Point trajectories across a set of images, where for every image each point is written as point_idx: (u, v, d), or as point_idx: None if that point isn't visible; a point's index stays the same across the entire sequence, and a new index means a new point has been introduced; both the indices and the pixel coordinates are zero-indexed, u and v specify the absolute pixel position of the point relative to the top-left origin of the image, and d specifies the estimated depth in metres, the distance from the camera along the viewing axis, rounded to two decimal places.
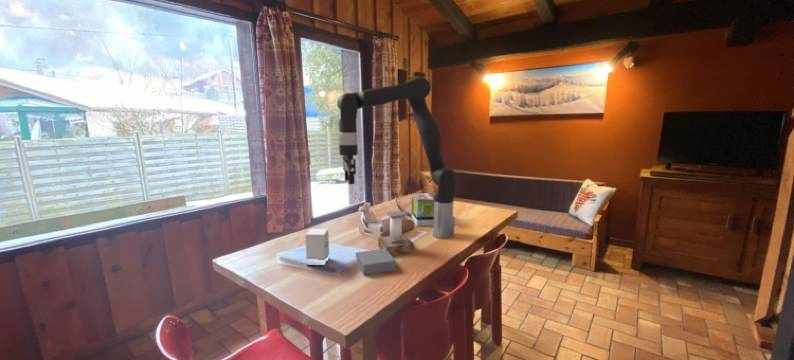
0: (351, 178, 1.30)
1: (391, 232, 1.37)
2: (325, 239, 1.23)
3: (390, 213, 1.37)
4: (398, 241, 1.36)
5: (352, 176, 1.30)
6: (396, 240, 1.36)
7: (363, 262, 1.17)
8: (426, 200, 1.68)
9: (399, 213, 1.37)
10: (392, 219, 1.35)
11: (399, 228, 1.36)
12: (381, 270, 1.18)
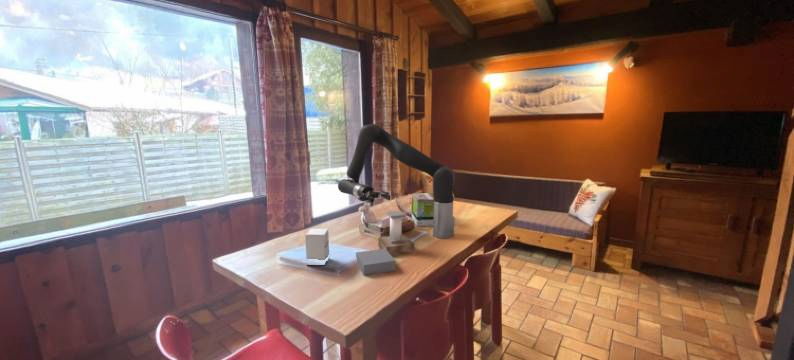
0: (368, 199, 1.44)
1: (391, 232, 1.37)
2: (325, 239, 1.23)
3: (390, 213, 1.37)
4: (398, 241, 1.36)
5: (367, 198, 1.45)
6: (396, 240, 1.36)
7: (363, 262, 1.17)
8: (426, 200, 1.68)
9: (399, 213, 1.37)
10: (392, 219, 1.35)
11: (399, 228, 1.36)
12: (381, 270, 1.18)
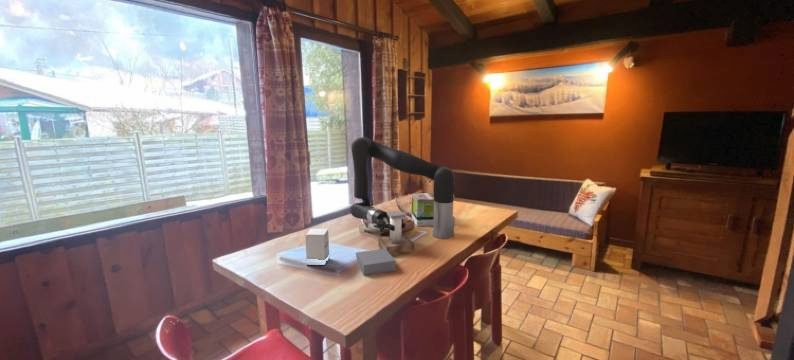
0: (388, 227, 1.36)
1: (391, 232, 1.37)
2: (325, 239, 1.23)
3: (390, 213, 1.37)
4: (398, 241, 1.36)
5: (387, 226, 1.36)
6: (396, 240, 1.36)
7: (363, 262, 1.17)
8: (426, 200, 1.68)
9: (399, 213, 1.37)
10: (392, 219, 1.35)
11: (399, 228, 1.36)
12: (381, 270, 1.18)
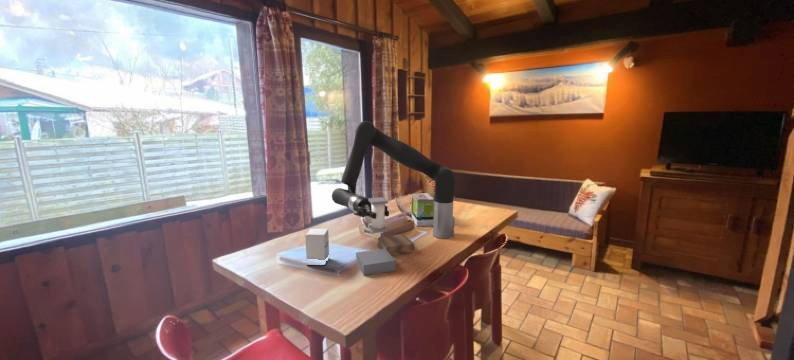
0: (369, 215, 1.21)
1: (373, 220, 1.22)
2: (325, 239, 1.23)
3: (372, 199, 1.22)
4: (380, 230, 1.22)
5: (368, 213, 1.22)
6: (378, 229, 1.22)
7: (363, 262, 1.17)
8: (426, 200, 1.68)
9: (382, 199, 1.22)
10: (374, 206, 1.21)
11: (381, 216, 1.22)
12: (381, 270, 1.18)
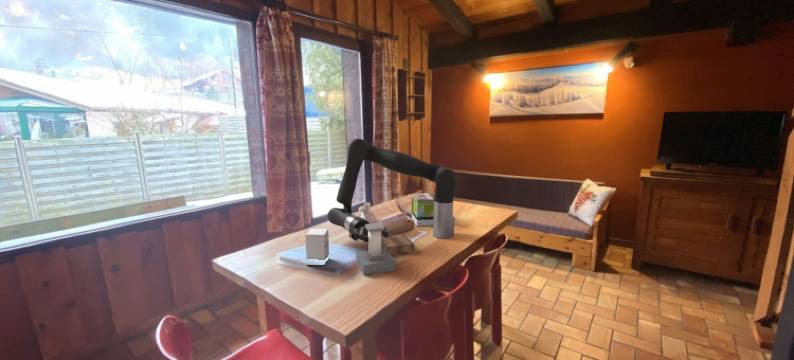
0: (362, 239, 1.19)
1: (369, 247, 1.20)
2: (325, 239, 1.23)
3: (368, 226, 1.21)
4: (377, 257, 1.20)
5: (360, 237, 1.19)
6: (375, 256, 1.20)
7: (363, 262, 1.17)
8: (426, 200, 1.68)
9: (378, 226, 1.21)
10: (370, 233, 1.19)
11: (378, 243, 1.20)
12: (381, 270, 1.18)
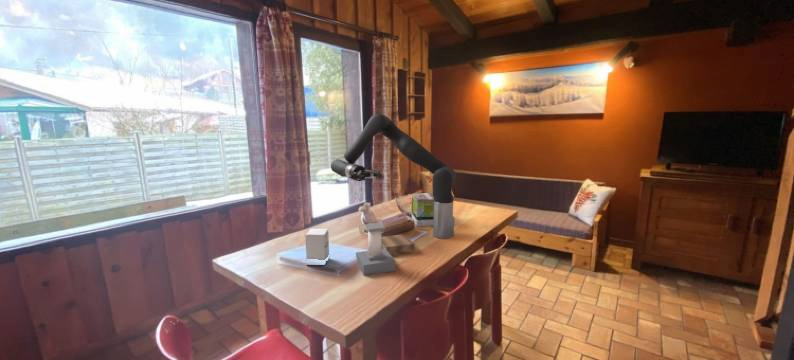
0: (359, 177, 1.43)
1: (369, 247, 1.20)
2: (325, 239, 1.23)
3: (368, 226, 1.21)
4: (377, 257, 1.20)
5: (358, 176, 1.43)
6: (375, 256, 1.20)
7: (363, 262, 1.17)
8: (426, 200, 1.68)
9: (378, 226, 1.21)
10: (370, 233, 1.19)
11: (378, 243, 1.20)
12: (381, 270, 1.18)
